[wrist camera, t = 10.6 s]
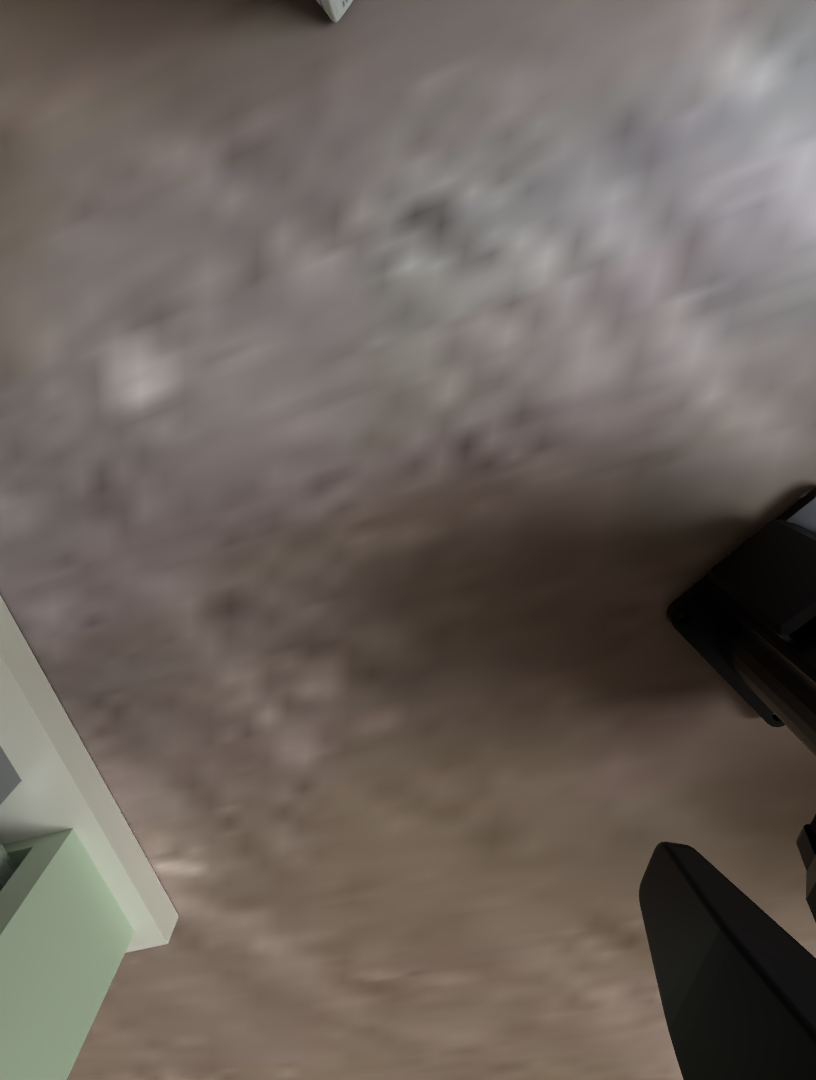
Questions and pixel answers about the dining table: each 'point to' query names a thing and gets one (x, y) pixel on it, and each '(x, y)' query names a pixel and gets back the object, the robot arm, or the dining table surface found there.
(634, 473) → the dining table surface
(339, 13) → the medicine box
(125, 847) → the tube stand
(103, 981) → the socket block
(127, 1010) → the dining table surface
